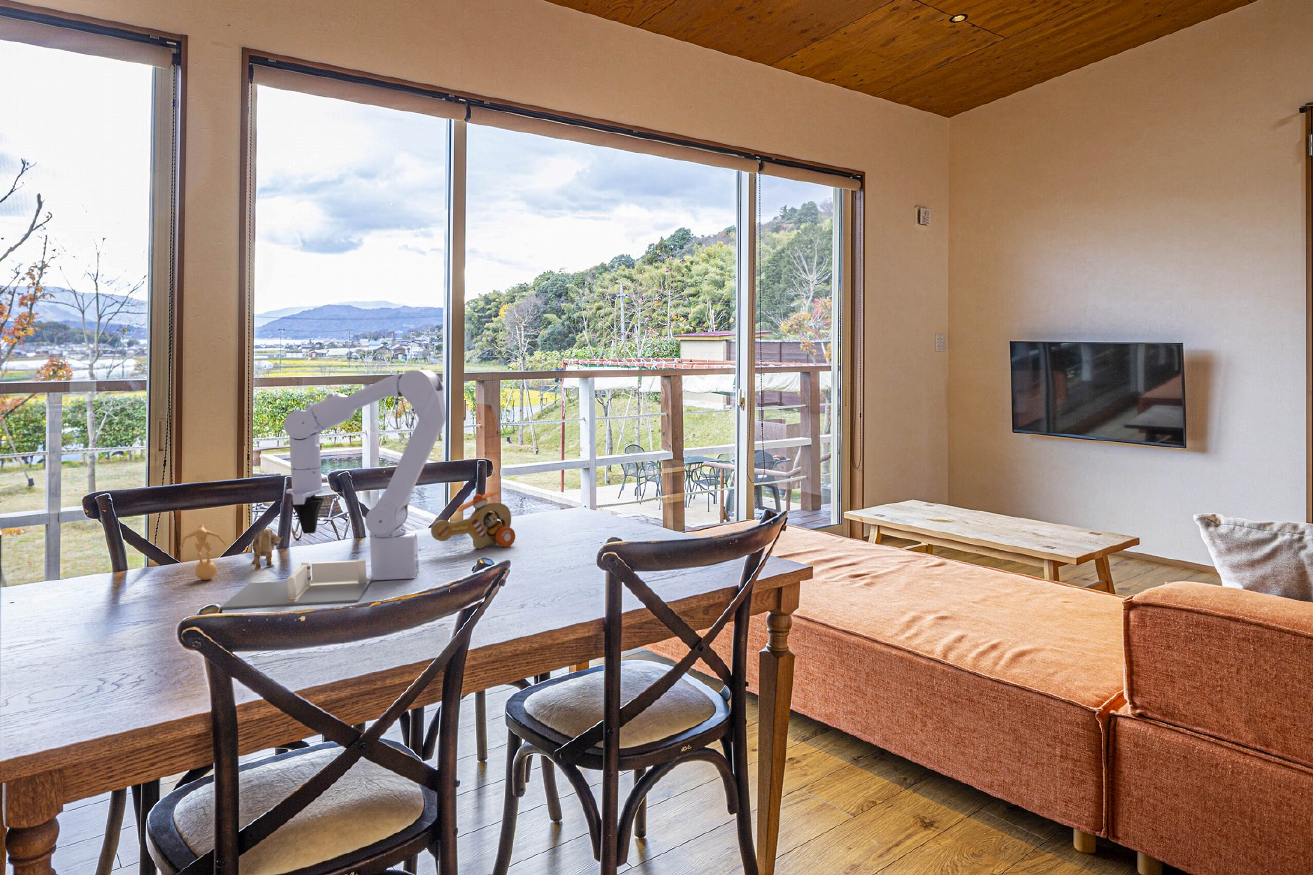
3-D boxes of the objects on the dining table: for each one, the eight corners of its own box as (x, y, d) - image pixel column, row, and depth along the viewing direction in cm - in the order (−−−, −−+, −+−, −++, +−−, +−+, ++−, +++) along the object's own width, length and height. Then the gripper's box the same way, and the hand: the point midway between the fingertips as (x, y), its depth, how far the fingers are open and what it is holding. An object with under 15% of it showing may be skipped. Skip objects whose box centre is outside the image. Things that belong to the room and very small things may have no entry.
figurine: (230, 575, 173) (226, 519, 172) (226, 582, 168) (222, 524, 166) (185, 579, 170) (182, 522, 169) (179, 586, 165) (175, 528, 163)
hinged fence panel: (301, 583, 162) (300, 565, 162) (308, 583, 162) (307, 564, 162) (287, 598, 152) (286, 578, 152) (295, 598, 153) (294, 578, 152)
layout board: (373, 578, 169) (373, 576, 169) (357, 601, 154) (357, 599, 154) (249, 584, 166) (249, 582, 166) (220, 609, 150) (220, 606, 150)
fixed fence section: (367, 581, 166) (366, 559, 166) (365, 583, 165) (364, 561, 164) (303, 584, 164) (302, 562, 164) (301, 586, 163) (300, 564, 162)
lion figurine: (284, 569, 178) (282, 528, 177) (257, 573, 174) (255, 532, 173) (269, 556, 189) (267, 518, 188) (243, 560, 186) (241, 521, 185)
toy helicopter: (519, 545, 199) (518, 489, 197) (442, 560, 184) (440, 500, 183) (501, 539, 205) (499, 485, 203) (425, 554, 190) (422, 495, 189)
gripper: (295, 463, 175) (298, 526, 177) (275, 473, 161) (278, 541, 163) (329, 462, 177) (332, 524, 178) (312, 472, 162) (316, 539, 164)
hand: (309, 532), depth 170 cm, fingers closed
